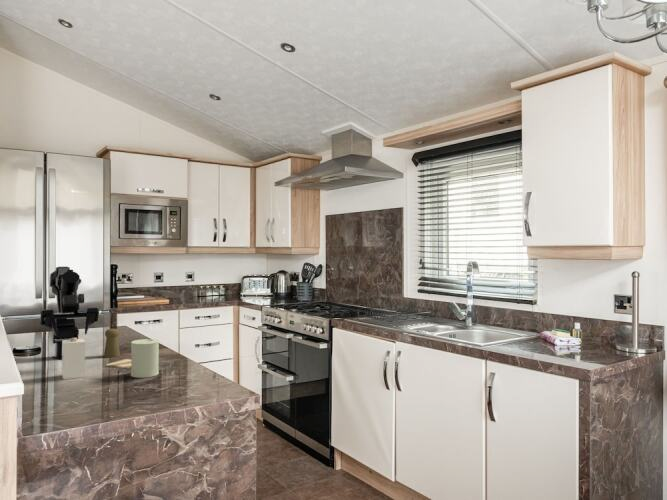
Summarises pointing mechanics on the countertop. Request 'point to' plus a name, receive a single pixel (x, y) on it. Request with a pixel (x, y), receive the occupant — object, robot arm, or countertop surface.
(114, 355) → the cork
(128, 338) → the countertop surface
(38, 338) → the countertop surface
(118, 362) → the coaster
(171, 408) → the countertop surface
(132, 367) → the can
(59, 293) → the robot arm
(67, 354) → the knobbed white block
